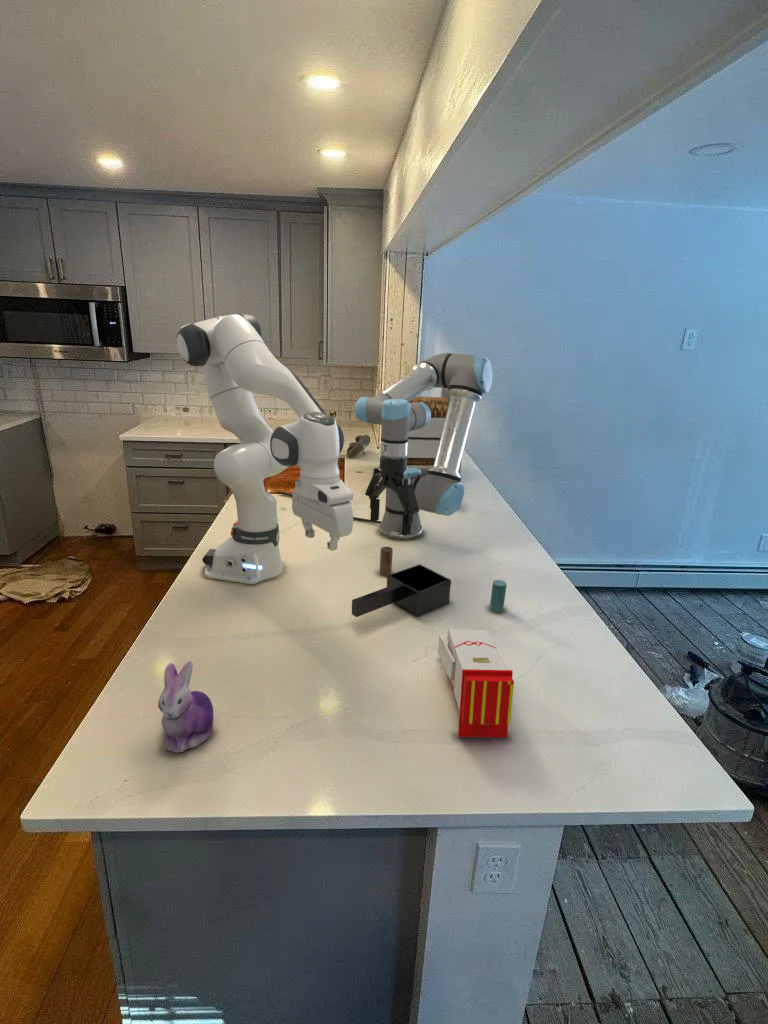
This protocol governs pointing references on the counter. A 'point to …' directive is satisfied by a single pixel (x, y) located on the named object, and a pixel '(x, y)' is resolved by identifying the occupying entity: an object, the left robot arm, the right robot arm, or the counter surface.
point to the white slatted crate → (428, 432)
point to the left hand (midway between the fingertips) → (320, 543)
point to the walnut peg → (386, 561)
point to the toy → (478, 682)
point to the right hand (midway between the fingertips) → (389, 527)
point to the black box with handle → (408, 592)
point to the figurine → (184, 711)
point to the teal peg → (498, 596)
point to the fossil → (358, 446)
